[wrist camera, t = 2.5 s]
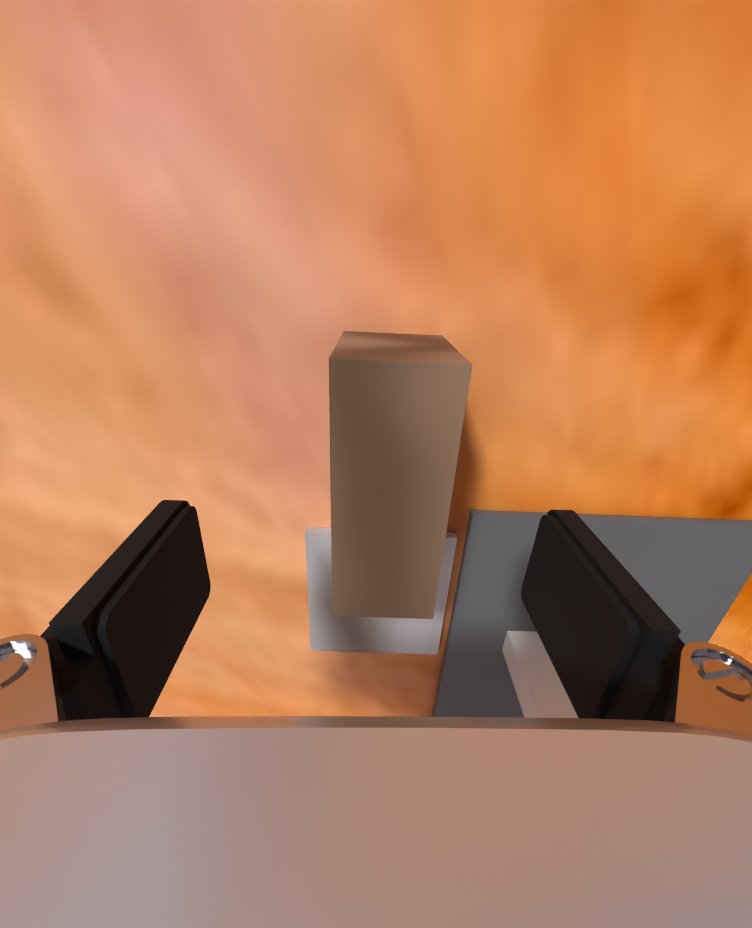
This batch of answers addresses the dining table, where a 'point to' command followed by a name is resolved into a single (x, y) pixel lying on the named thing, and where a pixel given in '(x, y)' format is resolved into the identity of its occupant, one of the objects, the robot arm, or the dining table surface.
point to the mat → (632, 543)
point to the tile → (535, 677)
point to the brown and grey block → (388, 494)
